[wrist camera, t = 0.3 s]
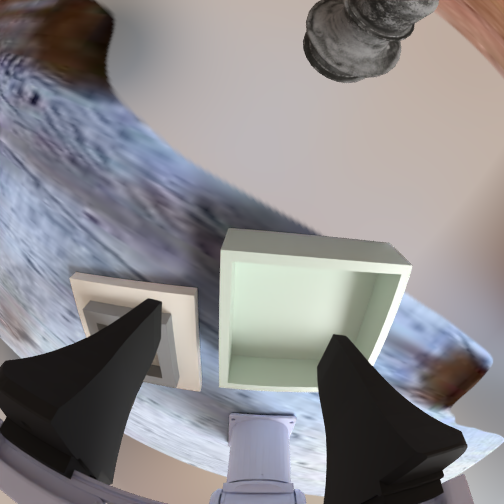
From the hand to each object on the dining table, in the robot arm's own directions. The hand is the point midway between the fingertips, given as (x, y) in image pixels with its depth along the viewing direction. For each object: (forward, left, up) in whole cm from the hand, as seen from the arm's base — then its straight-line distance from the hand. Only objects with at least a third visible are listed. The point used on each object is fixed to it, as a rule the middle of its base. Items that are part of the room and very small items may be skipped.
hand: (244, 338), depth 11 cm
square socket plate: (-10, +10, -10) cm, 17 cm away
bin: (-5, -4, -10) cm, 12 cm away
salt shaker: (+15, -5, -10) cm, 19 cm away
